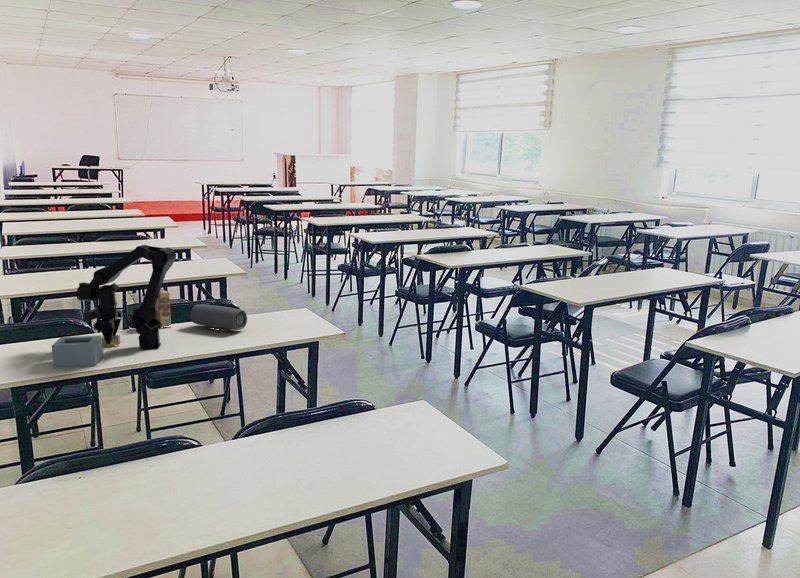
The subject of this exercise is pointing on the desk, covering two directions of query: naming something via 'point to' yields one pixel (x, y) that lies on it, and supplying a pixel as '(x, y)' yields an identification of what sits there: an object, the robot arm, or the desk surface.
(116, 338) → the tan rectangular block
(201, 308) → the bluetooth speaker
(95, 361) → the blue-grey open box
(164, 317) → the candy box
